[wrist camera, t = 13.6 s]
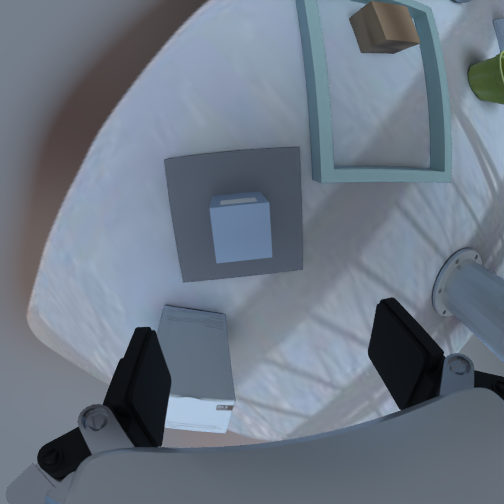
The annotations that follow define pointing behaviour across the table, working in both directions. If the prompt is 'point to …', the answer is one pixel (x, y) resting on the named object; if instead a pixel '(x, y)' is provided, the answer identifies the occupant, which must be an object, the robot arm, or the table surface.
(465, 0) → the plastic bottle
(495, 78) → the plant pot
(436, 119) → the tray
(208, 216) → the mat
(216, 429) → the skincare box
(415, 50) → the table surface
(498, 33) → the tea box
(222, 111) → the table surface
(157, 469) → the robot arm
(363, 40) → the walnut block
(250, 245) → the slate box
